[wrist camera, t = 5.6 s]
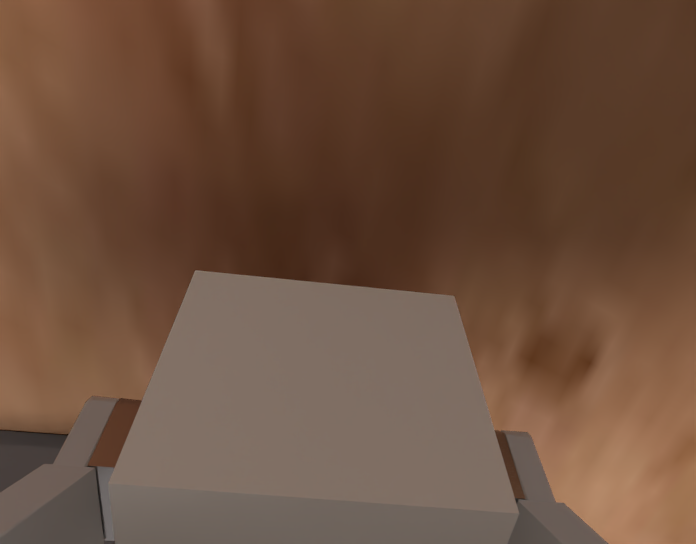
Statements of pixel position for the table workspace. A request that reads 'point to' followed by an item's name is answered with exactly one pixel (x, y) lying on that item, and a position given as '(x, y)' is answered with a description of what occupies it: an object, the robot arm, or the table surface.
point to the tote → (27, 455)
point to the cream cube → (312, 423)
